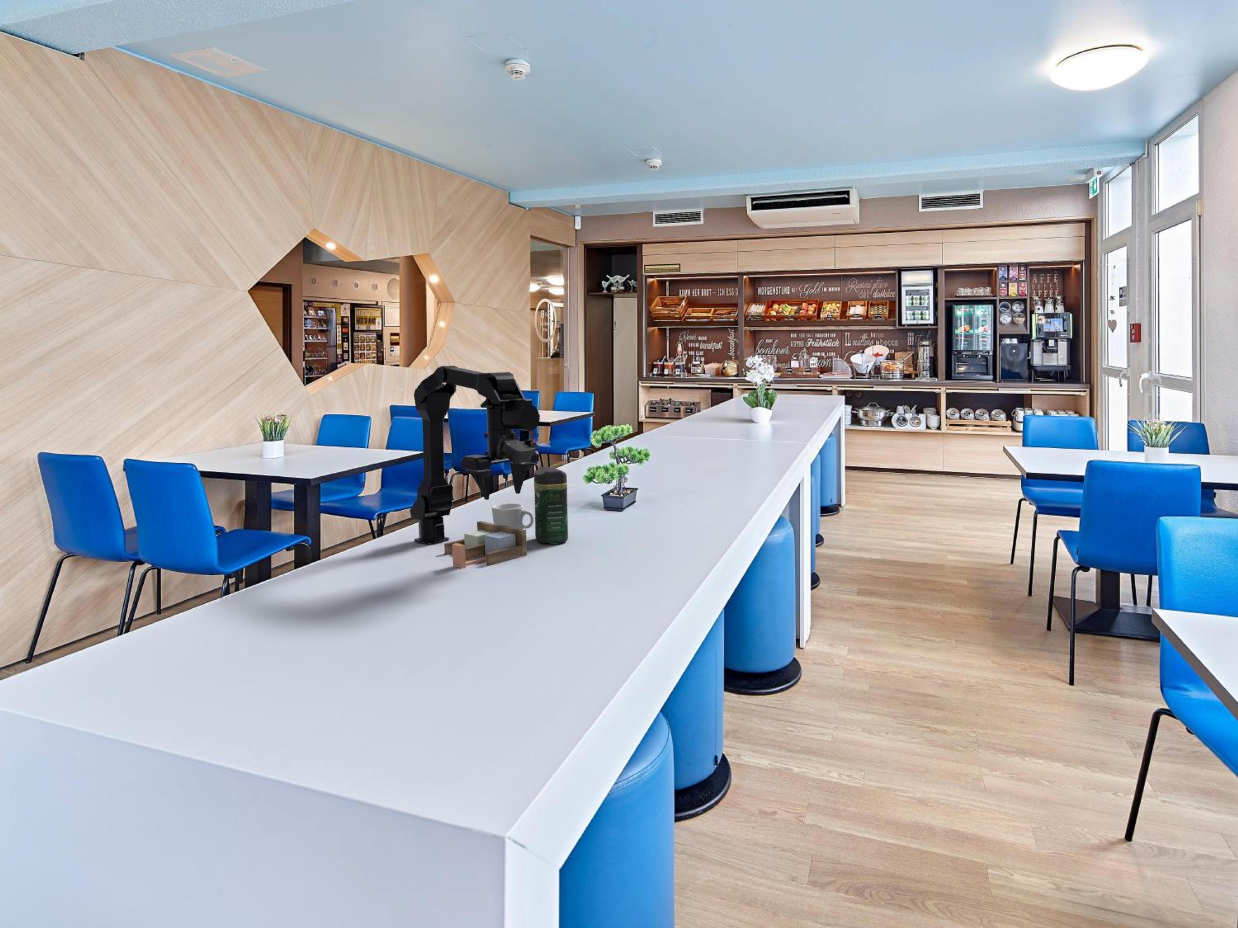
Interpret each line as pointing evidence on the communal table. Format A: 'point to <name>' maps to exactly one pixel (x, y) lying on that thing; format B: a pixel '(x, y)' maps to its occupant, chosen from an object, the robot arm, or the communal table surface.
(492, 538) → the wooden bar with block
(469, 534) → the green block
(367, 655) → the communal table surface
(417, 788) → the communal table surface
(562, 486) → the coffee jar
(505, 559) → the lane rack
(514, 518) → the cup
